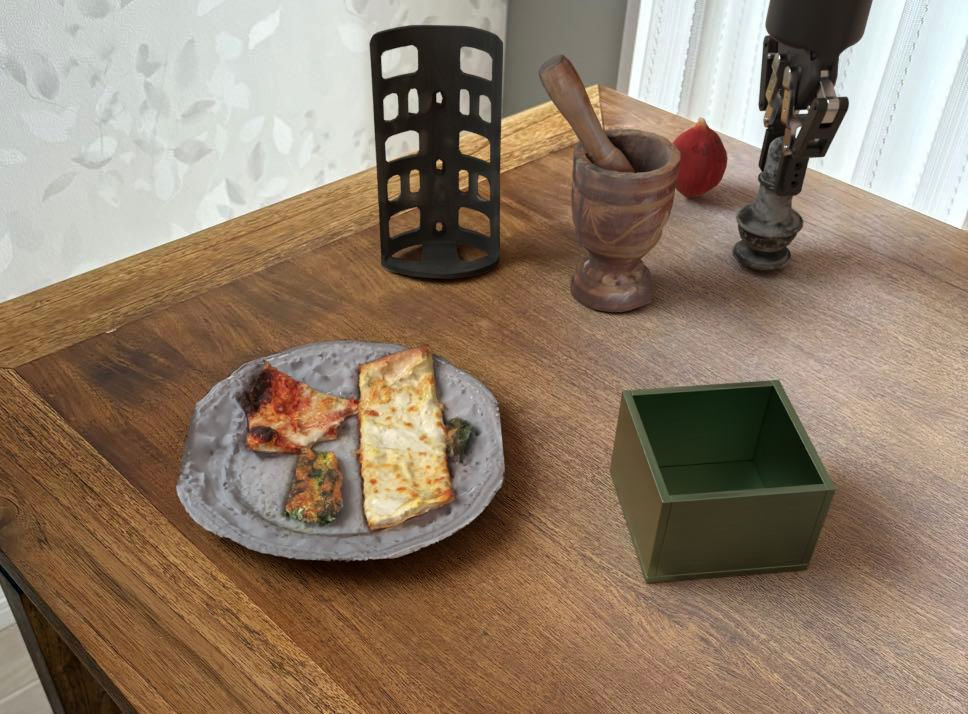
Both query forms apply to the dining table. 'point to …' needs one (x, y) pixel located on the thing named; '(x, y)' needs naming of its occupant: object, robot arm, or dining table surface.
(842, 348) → the dining table surface
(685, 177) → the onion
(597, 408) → the dining table surface
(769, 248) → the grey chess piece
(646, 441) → the box
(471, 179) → the holder
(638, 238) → the mortar and pestle
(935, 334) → the dining table surface
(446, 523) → the food plate
